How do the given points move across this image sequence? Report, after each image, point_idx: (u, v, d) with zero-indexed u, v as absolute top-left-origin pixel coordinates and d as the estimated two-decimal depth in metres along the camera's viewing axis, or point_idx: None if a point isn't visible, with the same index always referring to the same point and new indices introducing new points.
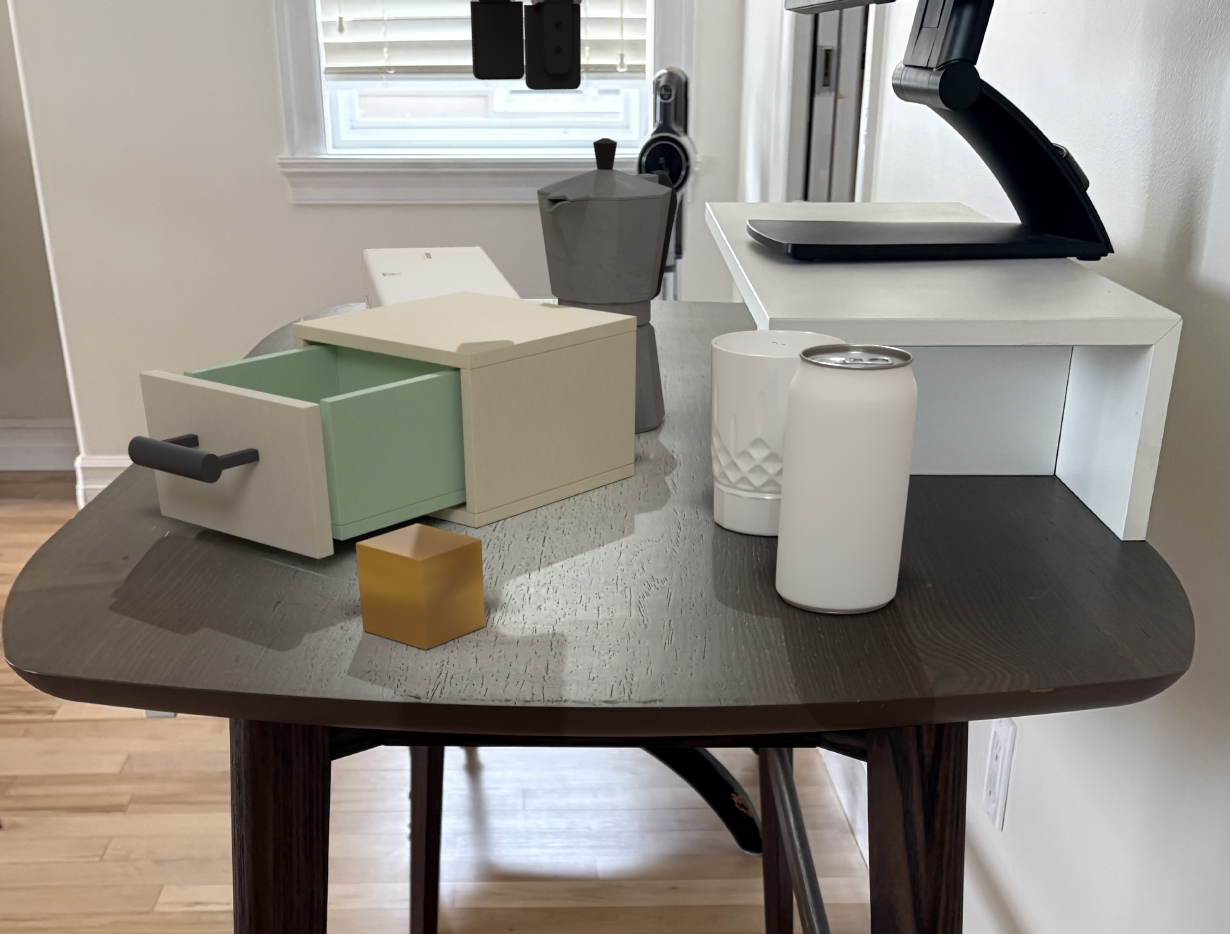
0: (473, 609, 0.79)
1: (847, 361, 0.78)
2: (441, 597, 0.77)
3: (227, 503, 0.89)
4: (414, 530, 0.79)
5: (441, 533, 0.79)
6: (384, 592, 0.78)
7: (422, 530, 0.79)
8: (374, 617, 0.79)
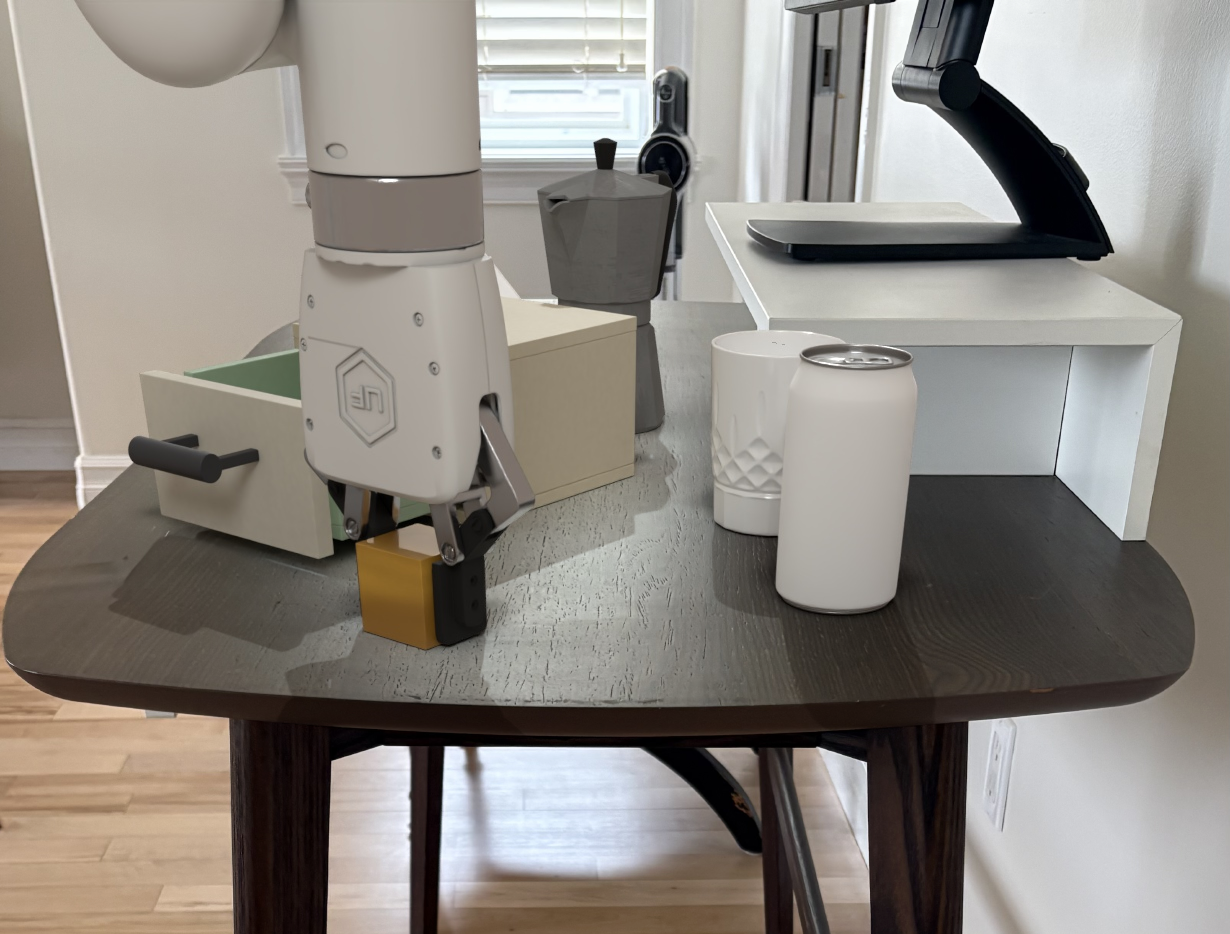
0: None
1: (847, 361, 0.78)
2: None
3: (227, 503, 0.89)
4: (414, 530, 0.79)
5: None
6: (385, 592, 0.78)
7: (422, 530, 0.79)
8: (374, 617, 0.79)
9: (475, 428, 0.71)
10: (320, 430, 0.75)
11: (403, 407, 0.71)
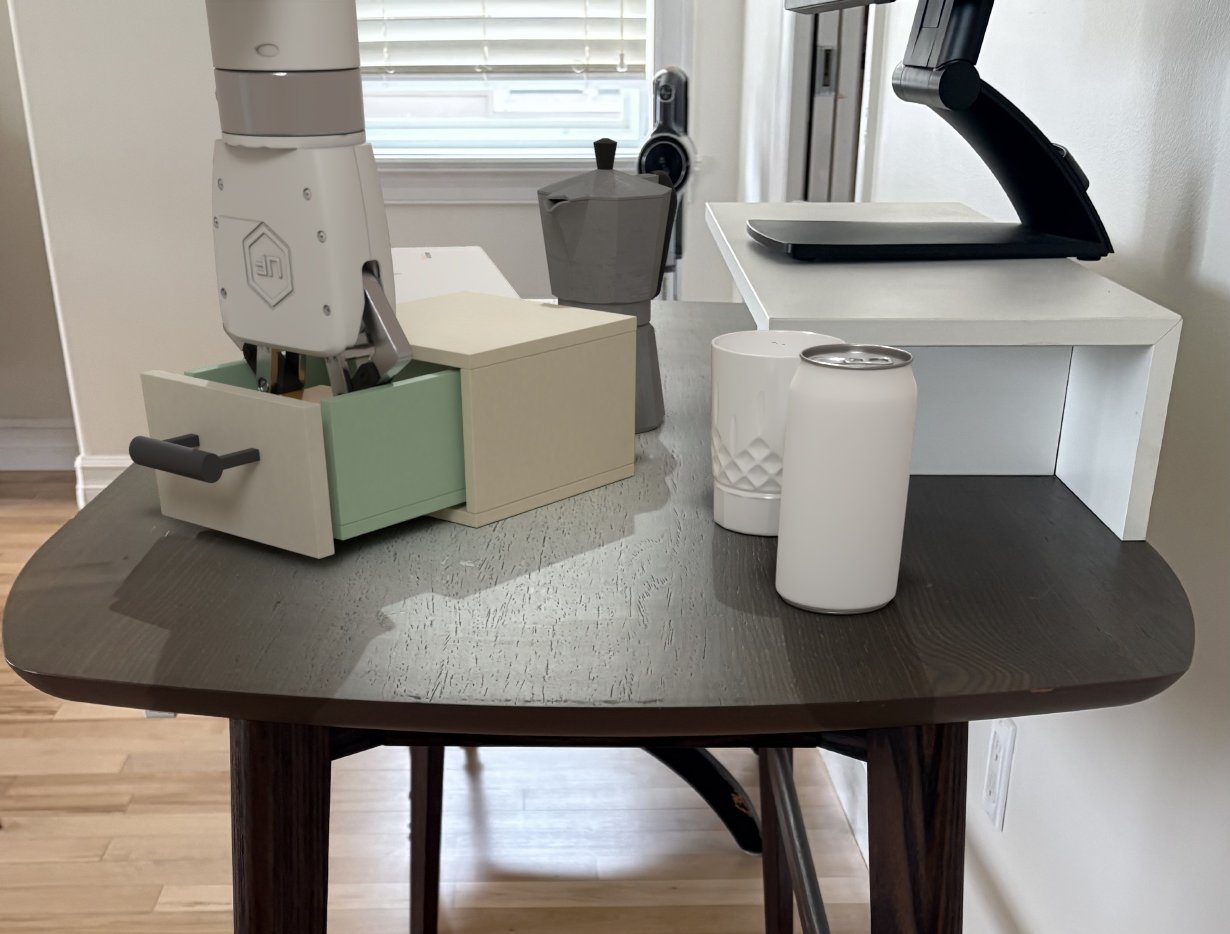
0: None
1: (847, 361, 0.78)
2: None
3: (228, 503, 0.89)
4: (318, 389, 0.92)
5: None
6: None
7: (325, 389, 0.92)
8: None
9: (359, 289, 0.84)
10: (232, 297, 0.88)
11: (298, 272, 0.84)
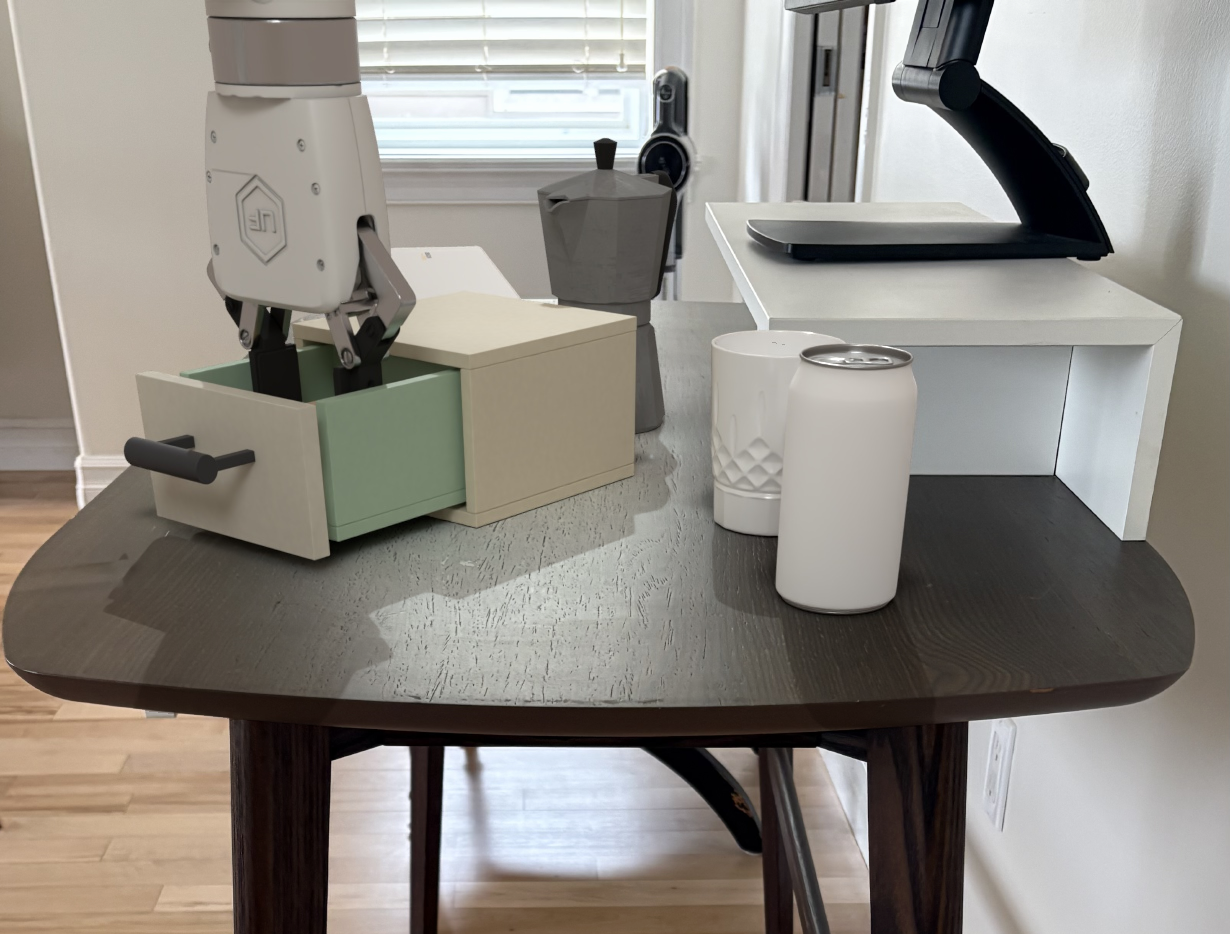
0: None
1: (847, 361, 0.78)
2: None
3: (223, 504, 0.89)
4: None
5: None
6: None
7: None
8: None
9: (353, 244, 0.83)
10: (225, 254, 0.86)
11: (292, 226, 0.82)
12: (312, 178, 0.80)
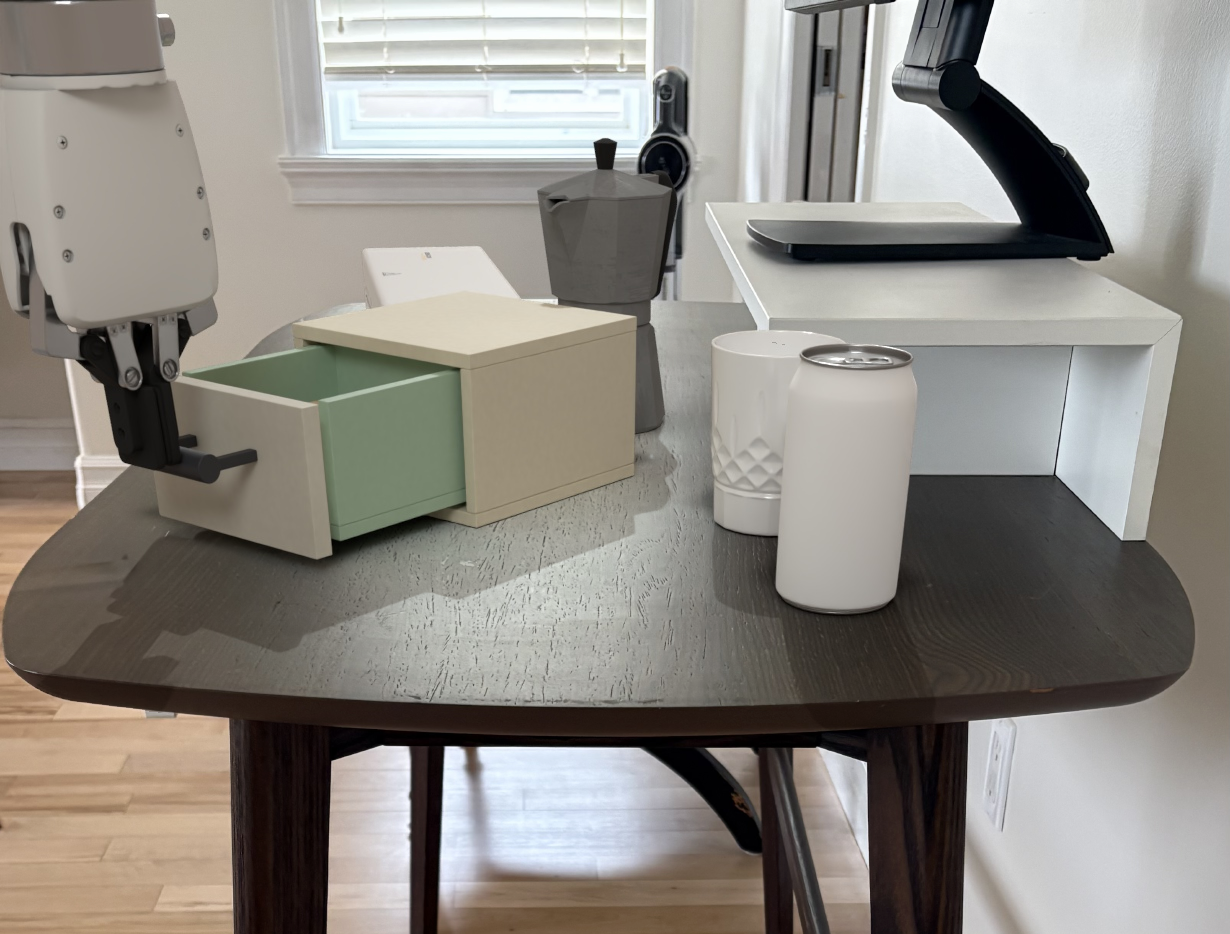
0: None
1: (847, 361, 0.78)
2: None
3: (225, 503, 0.89)
4: None
5: None
6: None
7: None
8: None
9: (9, 251, 0.74)
10: None
11: None
12: None
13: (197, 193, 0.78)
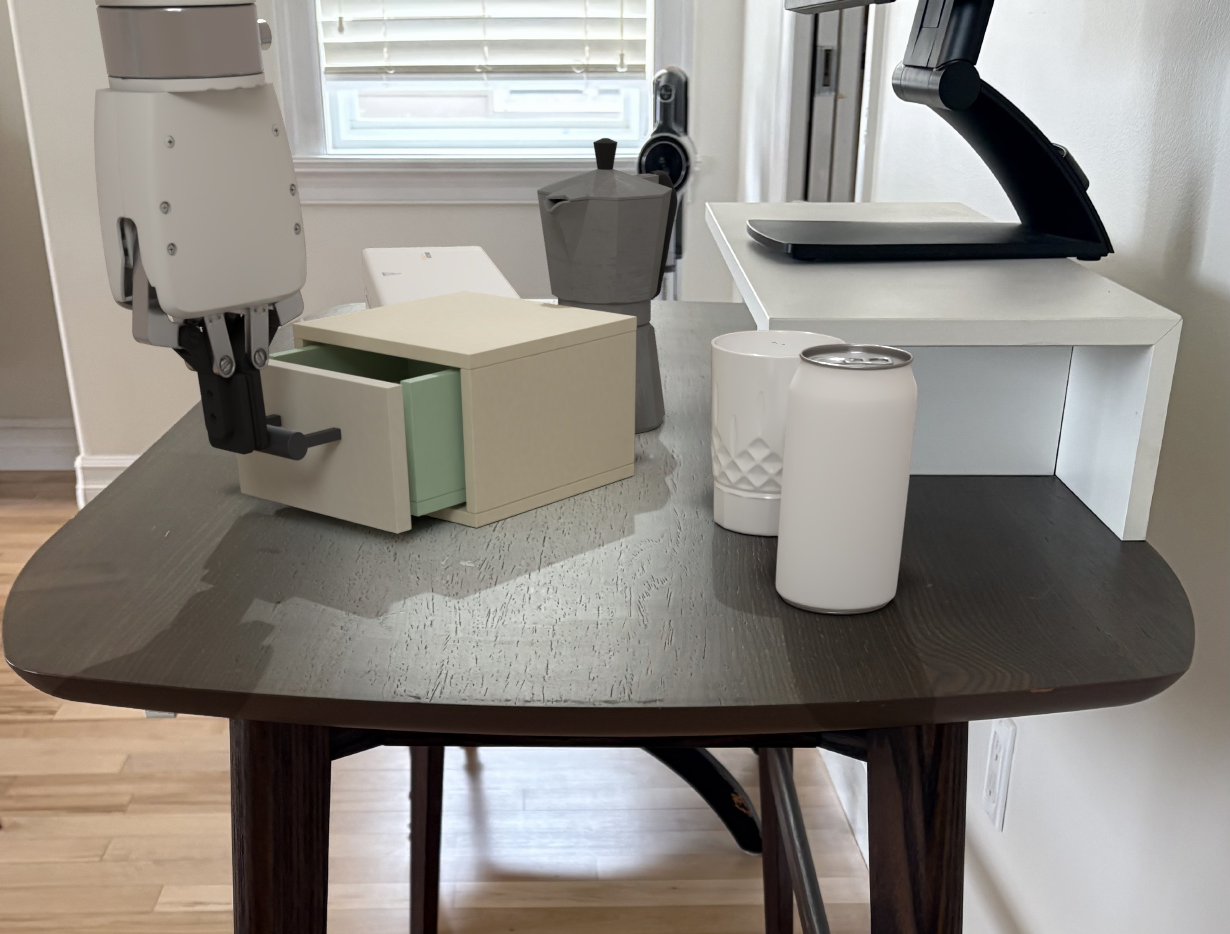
0: None
1: (847, 361, 0.78)
2: None
3: (308, 481, 0.93)
4: None
5: None
6: None
7: None
8: None
9: (115, 245, 0.79)
10: None
11: None
12: None
13: (290, 190, 0.82)
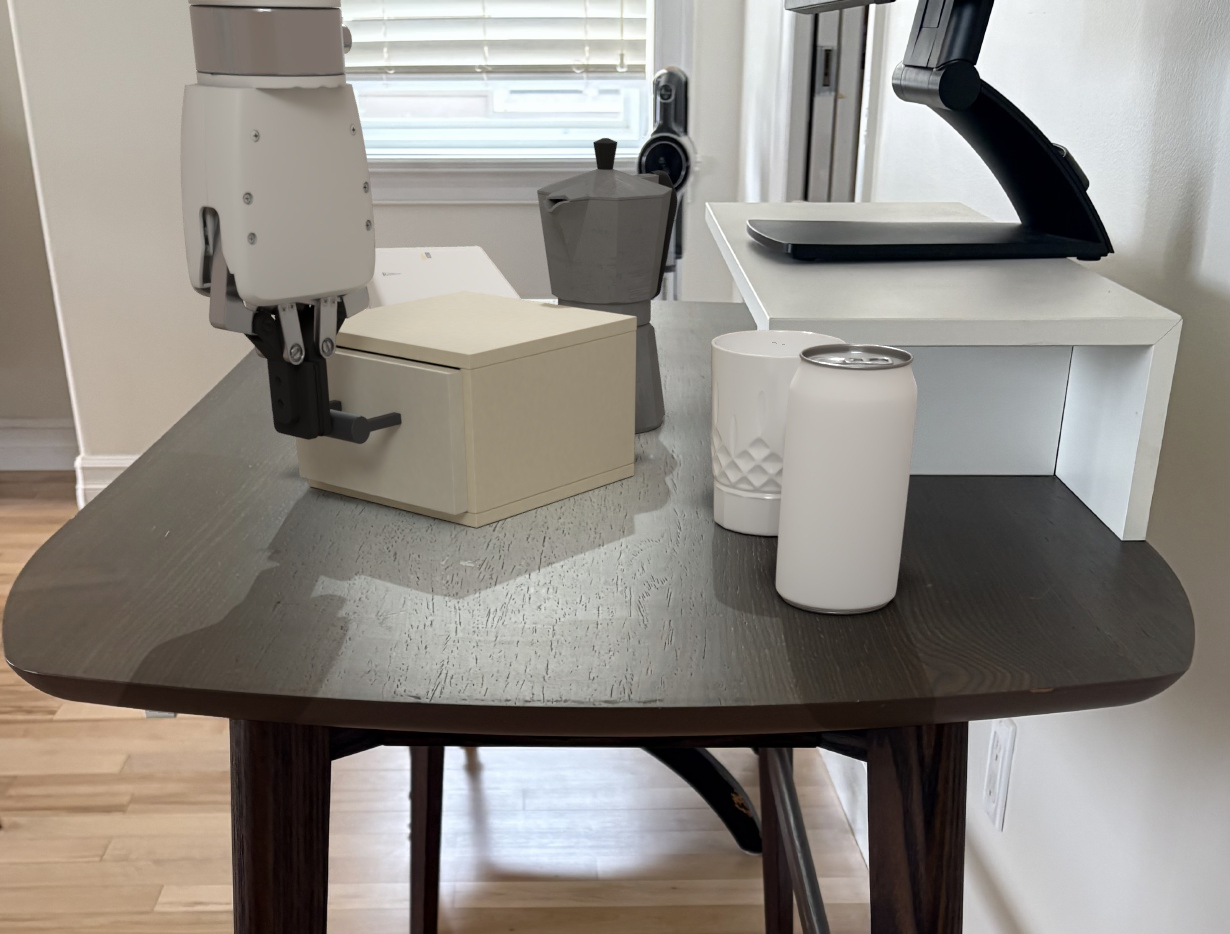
0: None
1: (847, 361, 0.78)
2: None
3: (367, 464, 0.96)
4: None
5: None
6: None
7: None
8: None
9: (196, 233, 0.82)
10: None
11: None
12: None
13: (363, 187, 0.85)
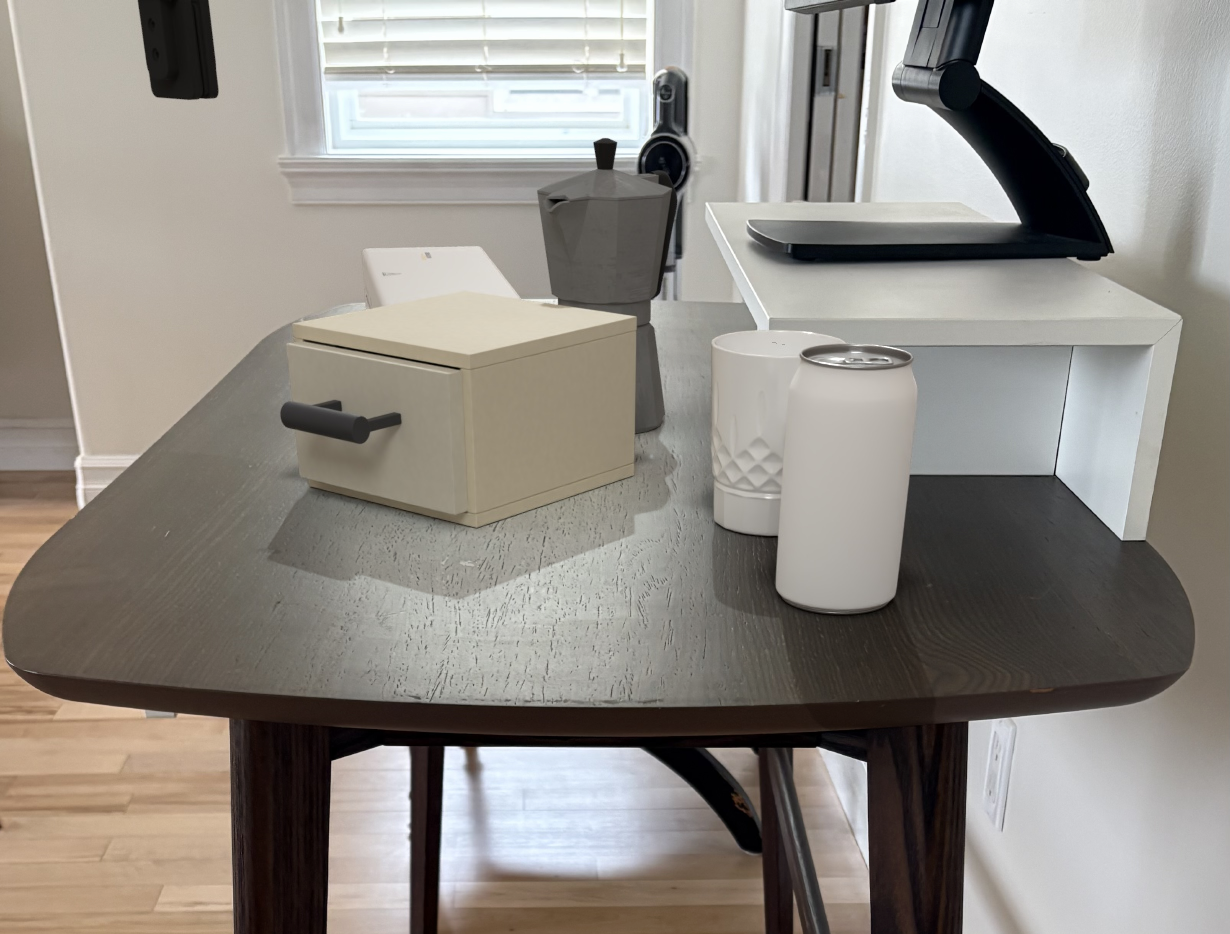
0: None
1: (847, 361, 0.78)
2: None
3: (367, 464, 0.96)
4: None
5: None
6: None
7: None
8: None
9: None
10: None
11: None
12: None
13: None
